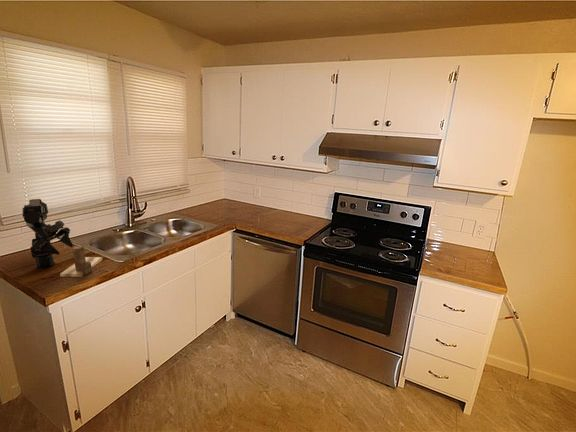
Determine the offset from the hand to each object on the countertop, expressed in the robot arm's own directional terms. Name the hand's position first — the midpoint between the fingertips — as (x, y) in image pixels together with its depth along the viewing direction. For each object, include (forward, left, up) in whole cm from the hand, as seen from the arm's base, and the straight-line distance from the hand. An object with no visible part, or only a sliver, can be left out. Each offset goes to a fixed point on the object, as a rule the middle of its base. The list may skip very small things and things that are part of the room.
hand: (66, 250), depth 154 cm
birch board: (+3, +6, -12) cm, 14 cm away
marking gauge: (+6, 0, -12) cm, 14 cm away
